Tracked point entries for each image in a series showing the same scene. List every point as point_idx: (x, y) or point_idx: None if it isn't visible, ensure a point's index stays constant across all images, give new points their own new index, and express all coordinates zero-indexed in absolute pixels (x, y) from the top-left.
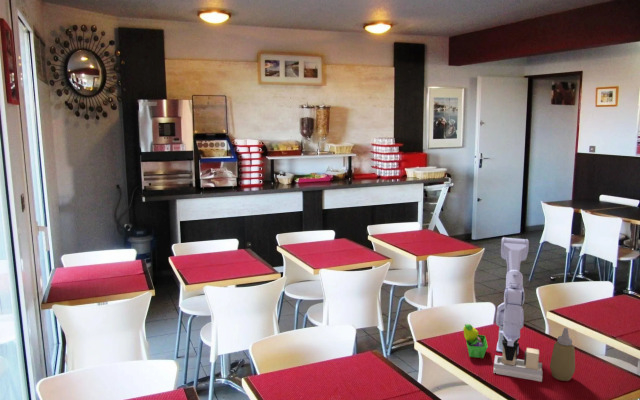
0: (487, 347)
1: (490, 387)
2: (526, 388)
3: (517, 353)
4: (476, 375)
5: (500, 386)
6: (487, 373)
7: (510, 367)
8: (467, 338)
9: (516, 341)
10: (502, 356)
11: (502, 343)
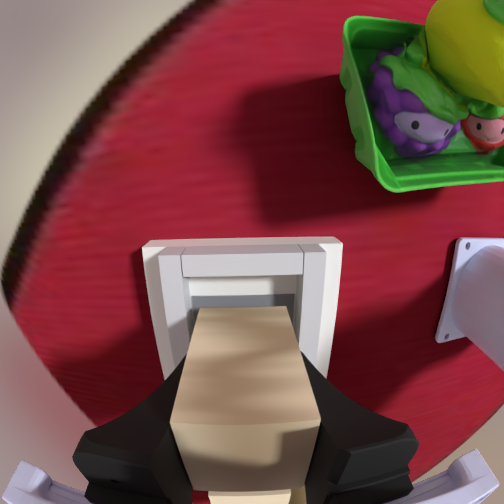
0: (388, 189)
1: (13, 242)
2: (91, 383)
3: (439, 340)
4: (81, 151)
5: (39, 285)
6: (131, 207)
7: (174, 354)
8: (427, 17)
9: (306, 492)
10: (192, 338)
11: (83, 437)
